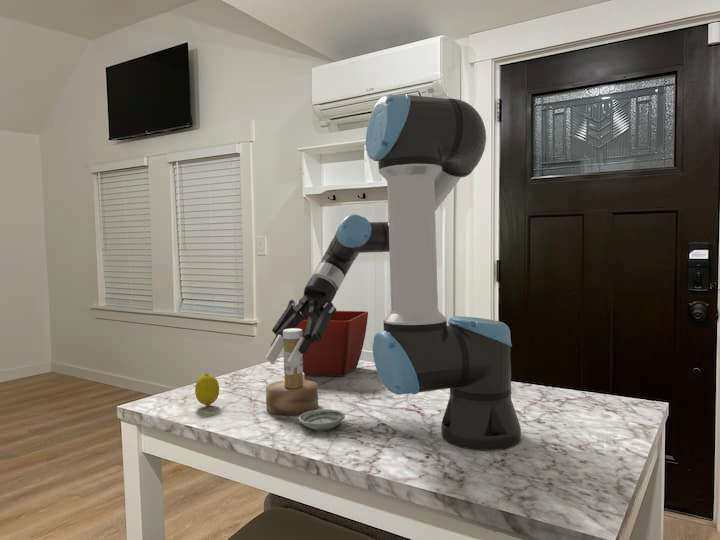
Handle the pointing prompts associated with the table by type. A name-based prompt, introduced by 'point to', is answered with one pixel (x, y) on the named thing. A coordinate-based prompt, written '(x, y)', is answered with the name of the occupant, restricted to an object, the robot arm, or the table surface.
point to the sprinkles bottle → (290, 340)
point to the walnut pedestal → (291, 398)
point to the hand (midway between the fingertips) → (280, 362)
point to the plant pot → (336, 345)
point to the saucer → (321, 419)
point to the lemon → (207, 389)
